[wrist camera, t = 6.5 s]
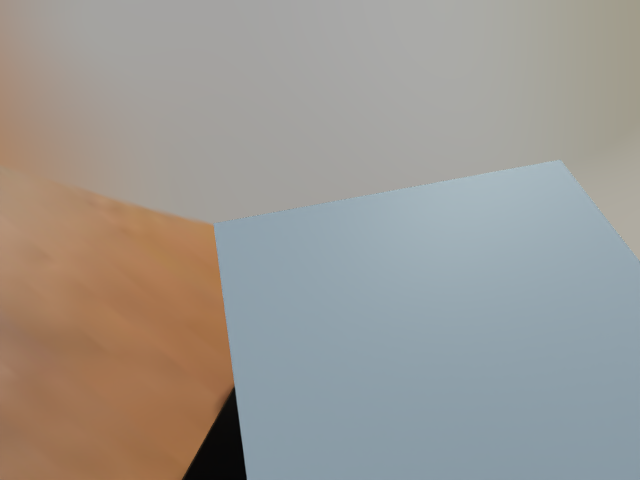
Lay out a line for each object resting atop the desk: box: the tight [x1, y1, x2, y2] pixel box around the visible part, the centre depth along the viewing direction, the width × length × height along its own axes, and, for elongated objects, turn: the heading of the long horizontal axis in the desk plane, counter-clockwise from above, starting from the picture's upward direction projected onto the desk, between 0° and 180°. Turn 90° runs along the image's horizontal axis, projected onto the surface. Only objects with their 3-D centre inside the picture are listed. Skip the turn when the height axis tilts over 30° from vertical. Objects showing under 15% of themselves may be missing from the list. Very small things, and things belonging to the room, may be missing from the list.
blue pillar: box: [214, 160, 640, 480], centre depth 8 cm, size 5×5×12 cm
